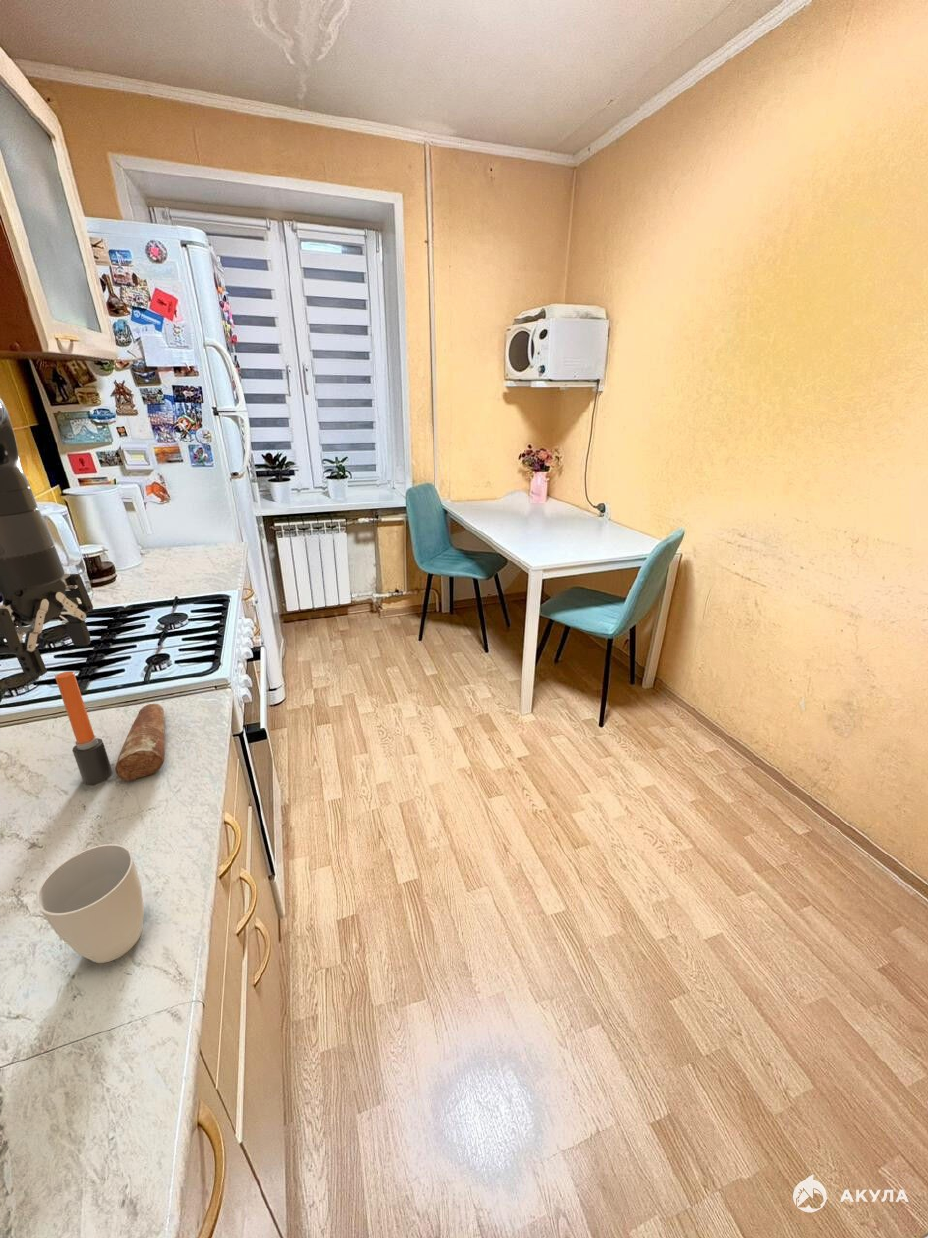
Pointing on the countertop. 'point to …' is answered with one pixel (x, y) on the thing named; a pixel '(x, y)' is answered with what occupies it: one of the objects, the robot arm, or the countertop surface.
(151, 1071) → the countertop surface
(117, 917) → the cup
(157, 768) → the bread
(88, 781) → the brush
